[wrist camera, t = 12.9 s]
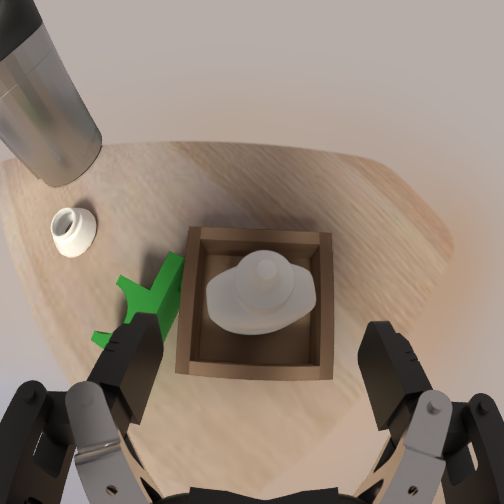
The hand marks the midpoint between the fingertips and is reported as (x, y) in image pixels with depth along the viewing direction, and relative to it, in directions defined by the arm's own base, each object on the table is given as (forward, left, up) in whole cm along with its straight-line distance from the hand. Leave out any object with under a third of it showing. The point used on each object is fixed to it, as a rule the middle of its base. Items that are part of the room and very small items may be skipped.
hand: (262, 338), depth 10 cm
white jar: (-18, +8, -12) cm, 23 cm away
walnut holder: (0, +3, -11) cm, 11 cm away
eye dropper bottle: (0, +2, -11) cm, 11 cm away
